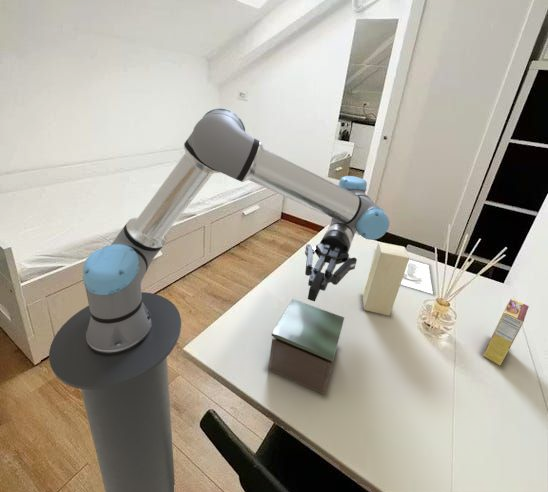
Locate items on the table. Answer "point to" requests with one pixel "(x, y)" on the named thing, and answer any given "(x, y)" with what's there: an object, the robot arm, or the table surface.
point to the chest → (300, 365)
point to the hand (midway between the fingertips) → (312, 294)
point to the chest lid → (310, 329)
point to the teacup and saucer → (417, 276)
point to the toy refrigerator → (385, 278)
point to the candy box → (506, 331)
